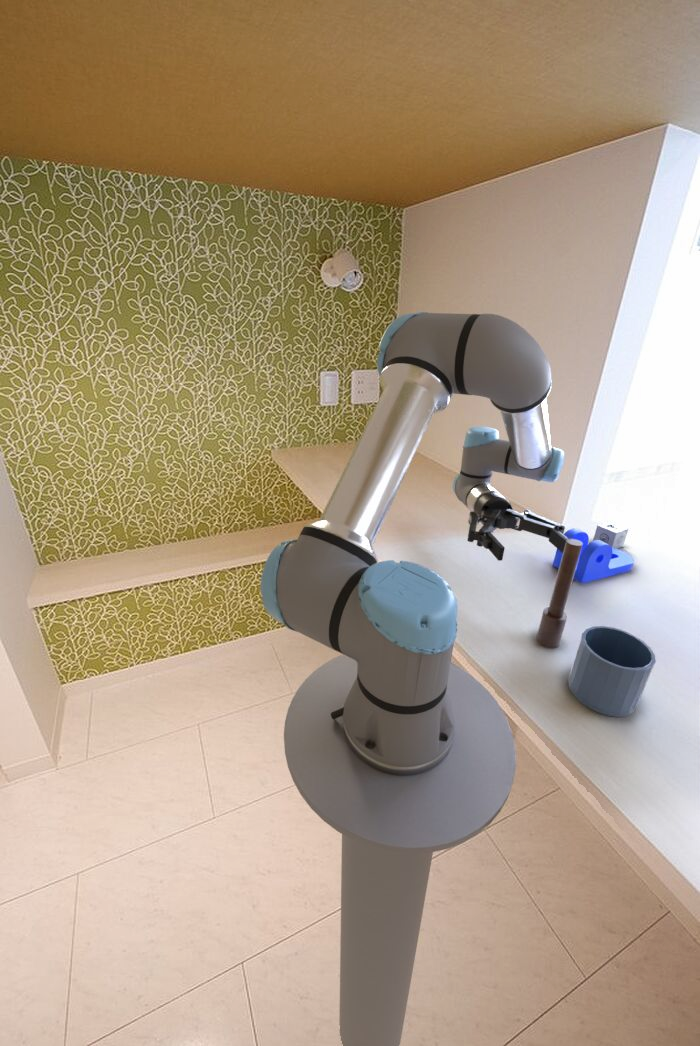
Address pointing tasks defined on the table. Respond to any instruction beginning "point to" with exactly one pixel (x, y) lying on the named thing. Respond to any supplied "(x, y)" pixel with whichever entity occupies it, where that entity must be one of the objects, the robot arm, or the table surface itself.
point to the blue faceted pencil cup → (610, 670)
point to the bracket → (596, 558)
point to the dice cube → (611, 534)
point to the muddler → (559, 597)
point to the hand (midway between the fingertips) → (536, 552)
